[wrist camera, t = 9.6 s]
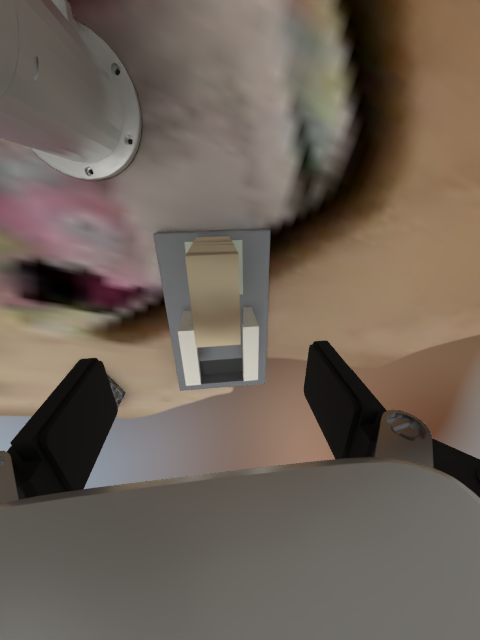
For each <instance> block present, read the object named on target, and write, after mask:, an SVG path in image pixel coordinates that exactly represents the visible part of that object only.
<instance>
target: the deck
mask: <svg viewBox="0 0 480 640" xmlns="http://www.w3.org/2000/svg"><path fill="white" fill-rule="evenodd" d="M216 236H230V238H231V240H232V242H233V244H234V246H235V248H236V250H237V252H238V254H239V292H240V337H241V345H227V346H213V347H198V356H199V365H200V373H201V385H192V386H186V383H185V376H184V369H183V363H182V356H181V350H180V343H179V337H178V329H179V325H180V322H181V318H182V315H183V311H187V310H191V302H190V294H189V285H188V277H187V268H186V260H185V255H186V254H187V252H188V250H189V249H190V247H191V245H192V243H193V242H194V240H195V238H196V237H216ZM154 240H155V246H156V252H157V258H158V264H159V270H160V276H161V281H162V287H163V293H164V299H165V305H166V311H167V317H168V323H169V329H170V335H171V340H172V346H173V352H174V358H175V364H176V370H177V376H178V382H179V388H180V391H182V390H194V389H207V388H219V387H231V386H242V385H254V384H265V374H266V345H267V316H268V286H269V256H270V230H268V229H239V230H207V231H174V232H157V233H155V234H154ZM243 307H252V309H253V312H254V314H255V317H256V320H257V323H258V325H259V352H258V380H253V381H244V380H243V353H242V324H243Z"/></svg>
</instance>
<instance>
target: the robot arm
mask: <svg viewBox="0 0 480 640" xmlns="http://www.w3.org/2000/svg"><path fill="white" fill-rule="evenodd" d="M117 71H120V74H119V75H116V73H117ZM141 128H142V121H141V109H140V105H139V101H138V97H137V93H136V91H135V88H134V86H133V83H132V81H131V78H130V77H129V75H128V73H127V71H126V69H125V68H124V66H123V64H122V63H121V61H120V60H119V59H118V57H117V56H116V54H115V53H114V52H113V50H112V49H111V48H110V47H109V46H108V45H107V43H106V42H105V41H104V40H103V39H102V38H101V37H99V36H98V35H97V34H96V33H95V32H93V31H92V30H91V29H90V28H88V27H86V26H85V25H83V24H81V23H80V22H78V21H76V20H74V19H73V14H72V10H71V6H70V4H69V2H68V1H67V0H0V138H3V139H6V140H9V141H12V142H16V143H19V144H22V145H25V146H28V147H29V148H30V149H31V150H32V151H33V152H34V153H35V154H36V155H37V156H38V157H39V158H40V159H42V160H43V161H44V162H46V163H47V164H48V165H50V166H51V167H52V168H54V169H56V170H58V171H60V172H62V173H64V174H66V175H69V176H72V177H75V178H78V179H83V180H96V181H98V180H104V179H109V178H111V177H113V176H115V175H118V174H119V173H120V172H122V171H123V170H124V169H125V168H126V167H127V166H128V165H129V164H130V162H131V161H132V160H133V158H134V156H135V154H136V152H137V150H138V146H139V142H140V139H141ZM129 140H132V141H133V143H132V144H131V145H130V144H129ZM91 170H93V175H92V174H91ZM304 394H305V397H306V399H307V401H308V403H309V405H310V407H311V409H312V411H313V414H314V416H315V417H316V420H317V422H318V424H319V426H320V428H321V430H322V432H323V434H324V436H325V438H326V440H327V442H328V445H329V446H330V449H331V451H332V453H333V455H334V457H335V460H324V461H314V462H305V463H296V464H287V465H278V466H270V467H261V468H252V469H244V470H236V471H227V472H219V473H210V474H202V475H194V476H186V477H179V478H170V479H161V480H154V481H145V482H138V483H130V484H122V485H114V486H106V487H98V488H90V489H84V487H85V484H86V482H87V480H88V478H89V475H90V473H91V471H92V469H93V466H94V464H95V462H96V460H97V458H98V455H99V453H100V451H101V449H102V446H103V444H104V442H105V440H106V437H107V435H108V433H109V431H110V429H111V426H112V424H113V422H114V420H115V417H116V415H117V412H118V406H117V403H116V400H115V397H114V394H113V391H112V388H111V385H110V383H109V380H108V377H107V374H106V371H105V368H104V365H103V363H102V361H99V360H98V359H97V358H88V359H81V360H79V361H78V363H77V364H76V365H75V366H74V367H73V369H72V370H71V371H70V372H69V373H68V374H67V376H66V377H65V378H64V379H63V380H62V382H61V383H60V384H59V385H58V386H57V388H56V389H55V390H54V391H53V392H52V394H51V395H50V396H49V397H48V398H47V400H46V401H45V402H44V403H43V404H42V406H41V407H40V408H39V409H38V410H37V411H36V413H35V414H34V415H33V416H32V417H31V419H30V420H29V421H28V422H27V423H26V425H25V426H24V427H23V428H22V430H21V431H20V432H19V433H18V434H17V436H16V437H15V438H14V439H13V440H12V442H11V445H12V446H11V447H10V448H9V450H8V451H7V452H5V451H0V640H480V459H477V458H475V457H473V456H471V455H468V454H466V453H464V452H461V451H459V450H457V449H455V448H452V447H450V446H448V445H446V444H443V443H441V442H439V441H437V440H434V439H432V435H431V432H430V430H429V428H428V427H427V426H426V425H425V424H424V423H423V422H422V421H421V420H420V419H418V418H417V417H415V416H414V415H412V414H410V413H407V412H404V411H401V410H388V411H386V409H385V408H384V407H383V406H382V405H381V403H380V402H379V401H378V400H377V399H376V398H375V396H374V395H373V394H372V393H371V392H370V390H369V389H368V388H367V387H366V386H365V384H364V383H363V382H362V381H361V380H360V379H359V377H358V376H357V375H356V374H355V373H354V371H353V370H351V368H350V367H349V366H348V365H347V364H346V363H345V361H344V360H343V359H342V358H341V357H340V355H339V354H338V353H337V352H336V351H335V349H334V348H333V347H332V346H331V345H330V343H329V342H328V341H315V342H314V343H313V345H310V347H309V353H308V361H307V368H306V376H305V383H304Z"/></svg>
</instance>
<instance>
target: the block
mask: <svg viewBox="0 0 480 640" xmlns="http://www.w3.org/2000/svg"><path fill="white" fill-rule="evenodd" d="M185 260H186V268H187V277H188V285H189V294H190V302H191V310H192V319H193V327H194V336H195V344H196V348H198V347H213V346H227V345H241V337H240V292H239V254H238V252H237V250H236V248H235V246H234V244H233V242H232V240H231V238H230V236H216V237H196V238H195V240H194V242H193V243H192V245H191V247H190V249H189V250H188V252H187V254H186V255H185Z"/></svg>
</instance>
